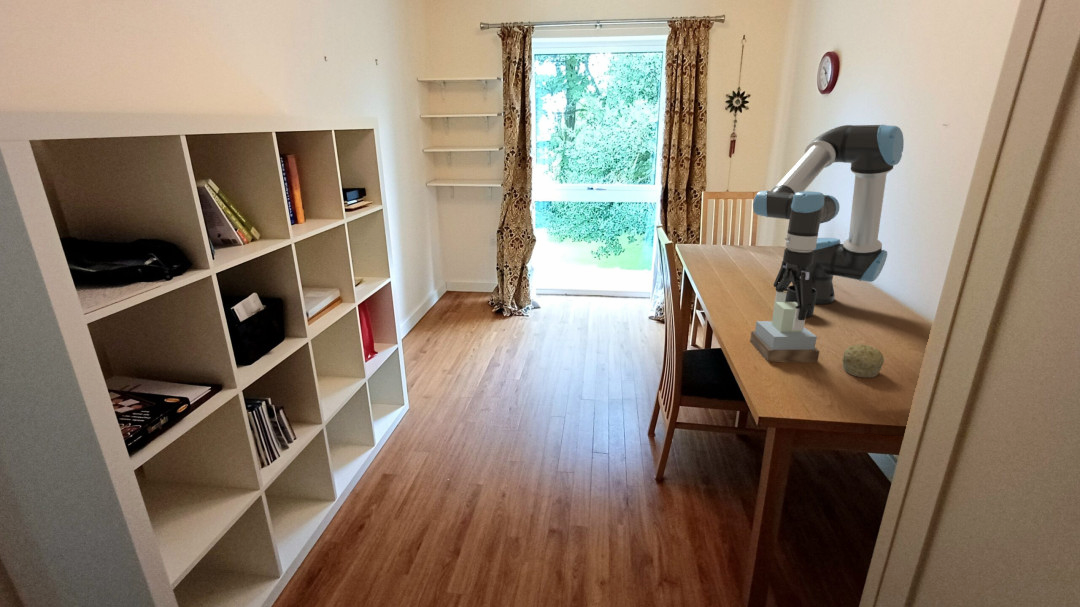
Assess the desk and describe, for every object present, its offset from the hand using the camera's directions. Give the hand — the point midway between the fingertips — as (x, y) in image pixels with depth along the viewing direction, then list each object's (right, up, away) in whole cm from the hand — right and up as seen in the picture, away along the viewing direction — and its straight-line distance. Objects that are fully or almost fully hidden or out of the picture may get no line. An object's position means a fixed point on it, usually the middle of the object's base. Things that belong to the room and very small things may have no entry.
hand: (787, 320), depth 148 cm
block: (0, -2, +1) cm, 2 cm away
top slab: (0, -6, +2) cm, 6 cm away
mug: (+20, +2, +34) cm, 40 cm away
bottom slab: (0, -10, +3) cm, 10 cm away
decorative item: (+15, -14, -9) cm, 22 cm away
